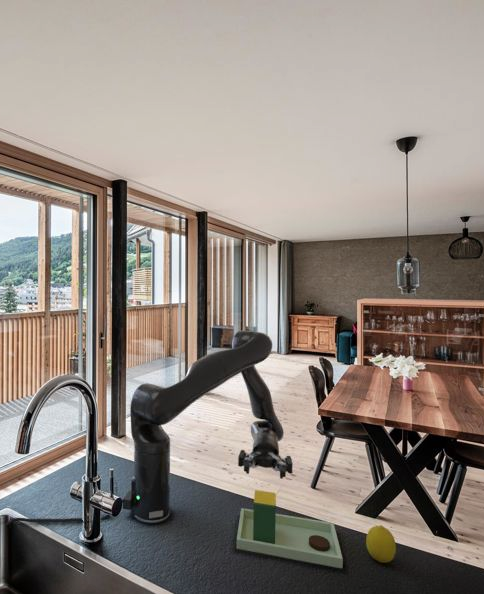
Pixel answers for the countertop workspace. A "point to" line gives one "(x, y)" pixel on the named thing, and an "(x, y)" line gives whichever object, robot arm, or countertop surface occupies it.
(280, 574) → the countertop surface
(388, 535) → the lemon
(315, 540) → the brown round disc
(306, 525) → the tray
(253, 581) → the countertop surface
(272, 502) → the sponge
